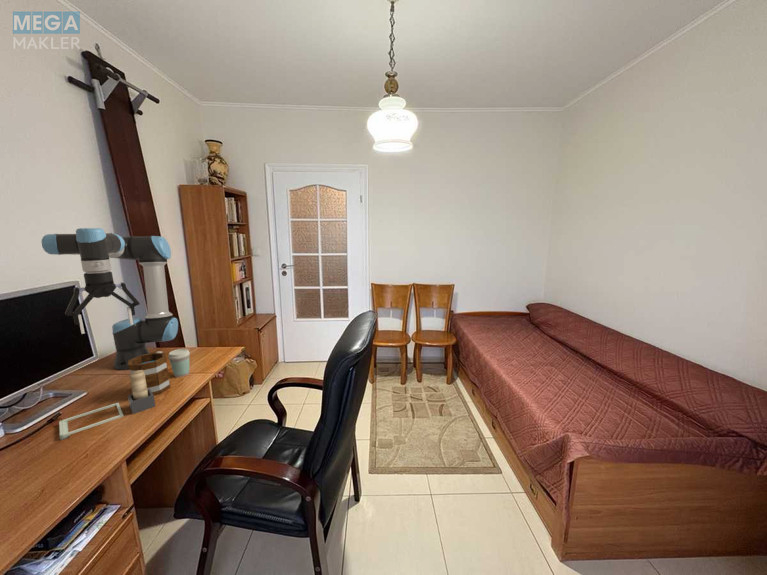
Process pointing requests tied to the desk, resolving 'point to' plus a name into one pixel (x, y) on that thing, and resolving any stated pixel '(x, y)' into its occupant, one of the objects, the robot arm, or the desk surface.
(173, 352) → the coffee cup
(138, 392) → the dowel
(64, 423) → the tray
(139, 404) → the pen cup
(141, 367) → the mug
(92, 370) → the desk surface
